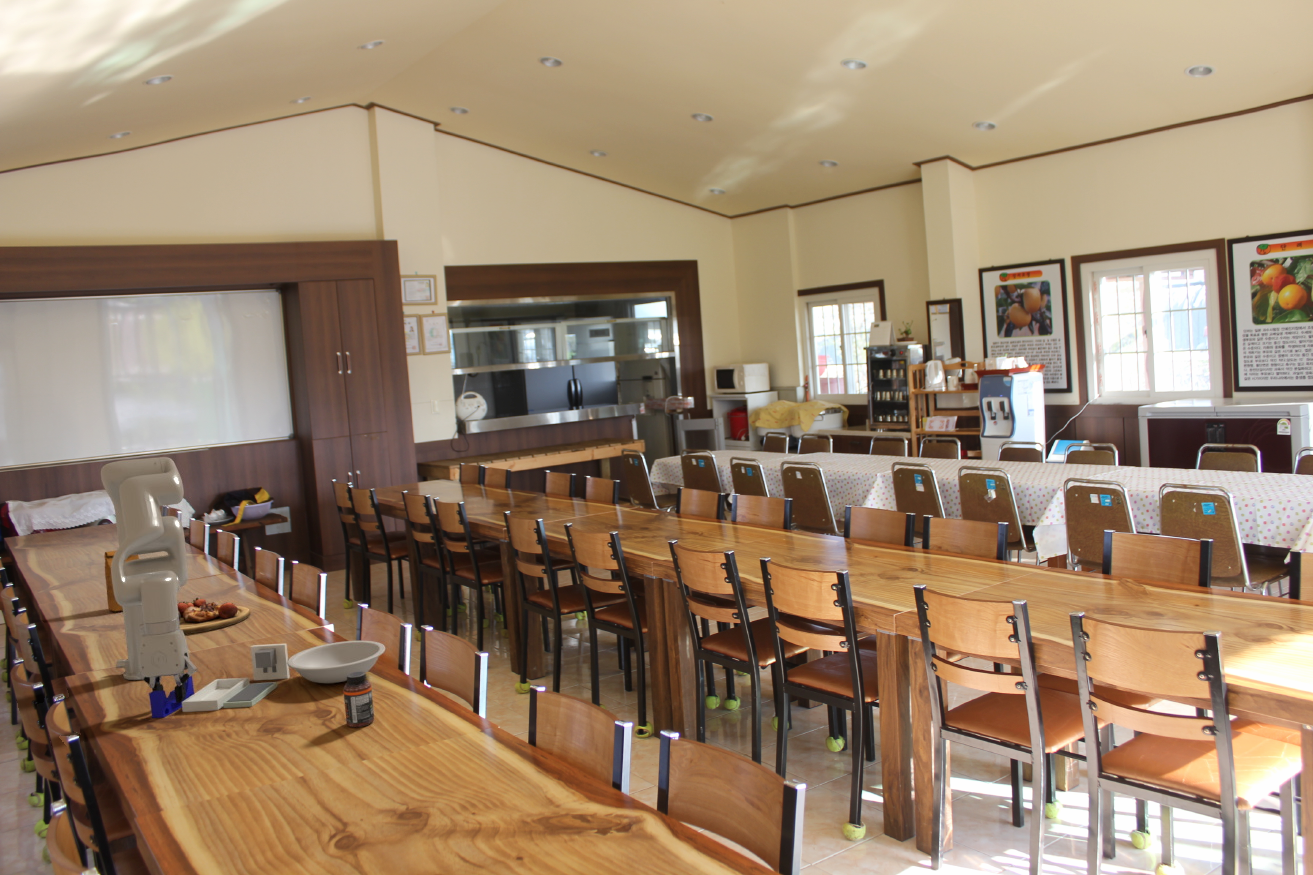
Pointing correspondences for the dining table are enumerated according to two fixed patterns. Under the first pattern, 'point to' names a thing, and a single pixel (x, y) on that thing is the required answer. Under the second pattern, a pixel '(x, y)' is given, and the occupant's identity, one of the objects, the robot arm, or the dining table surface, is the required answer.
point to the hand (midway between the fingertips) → (170, 700)
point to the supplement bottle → (358, 700)
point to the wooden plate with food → (208, 615)
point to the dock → (214, 694)
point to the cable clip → (168, 701)
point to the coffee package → (110, 592)
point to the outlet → (270, 661)
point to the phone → (250, 695)
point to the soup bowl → (336, 660)
